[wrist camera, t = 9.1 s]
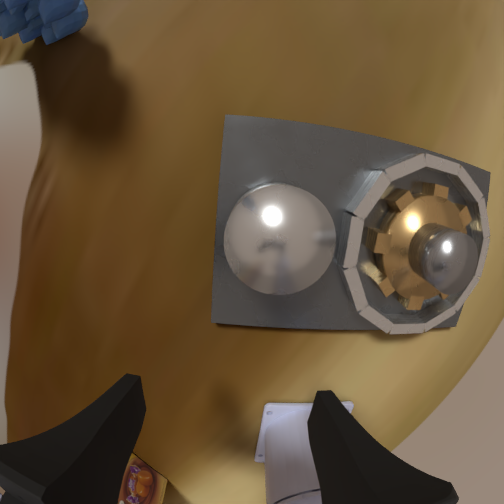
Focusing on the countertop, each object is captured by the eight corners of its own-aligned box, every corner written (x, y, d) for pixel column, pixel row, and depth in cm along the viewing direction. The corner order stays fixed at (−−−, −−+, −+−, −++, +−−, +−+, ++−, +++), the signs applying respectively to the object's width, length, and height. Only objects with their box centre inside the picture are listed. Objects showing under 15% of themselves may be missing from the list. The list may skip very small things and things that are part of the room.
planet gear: (444, 302, 19) (477, 329, 15) (353, 297, 19) (378, 332, 14) (470, 196, 17) (511, 205, 12) (377, 170, 16) (414, 173, 12)
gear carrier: (449, 321, 21) (474, 344, 17) (212, 315, 20) (205, 347, 16) (482, 171, 17) (516, 176, 13) (226, 117, 16) (220, 103, 12)
